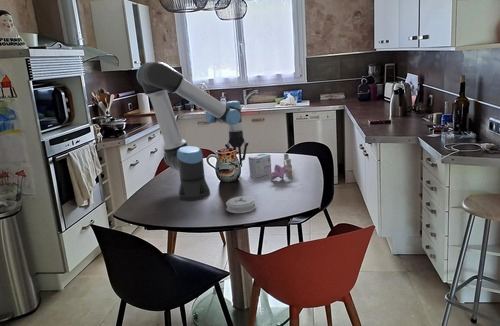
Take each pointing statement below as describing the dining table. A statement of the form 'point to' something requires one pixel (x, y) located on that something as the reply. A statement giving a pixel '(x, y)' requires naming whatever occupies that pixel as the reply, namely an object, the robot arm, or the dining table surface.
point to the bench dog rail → (288, 161)
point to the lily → (279, 172)
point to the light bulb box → (260, 165)
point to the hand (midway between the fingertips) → (239, 172)
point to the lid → (241, 204)
